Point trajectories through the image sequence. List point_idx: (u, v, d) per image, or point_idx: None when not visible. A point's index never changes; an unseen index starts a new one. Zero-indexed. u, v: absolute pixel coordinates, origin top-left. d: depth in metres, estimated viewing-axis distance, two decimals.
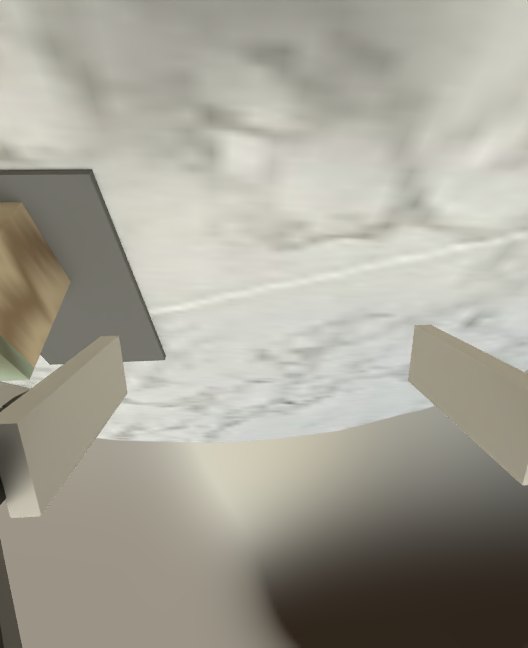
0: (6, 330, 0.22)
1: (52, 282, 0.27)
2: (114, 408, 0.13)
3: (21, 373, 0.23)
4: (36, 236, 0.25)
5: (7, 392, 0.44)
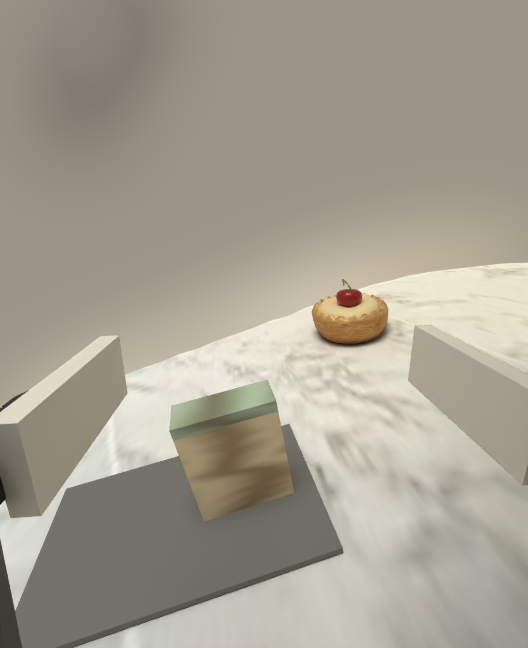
0: (226, 432, 0.25)
1: (221, 497, 0.27)
2: (114, 408, 0.13)
3: (181, 426, 0.24)
4: (265, 496, 0.28)
5: None
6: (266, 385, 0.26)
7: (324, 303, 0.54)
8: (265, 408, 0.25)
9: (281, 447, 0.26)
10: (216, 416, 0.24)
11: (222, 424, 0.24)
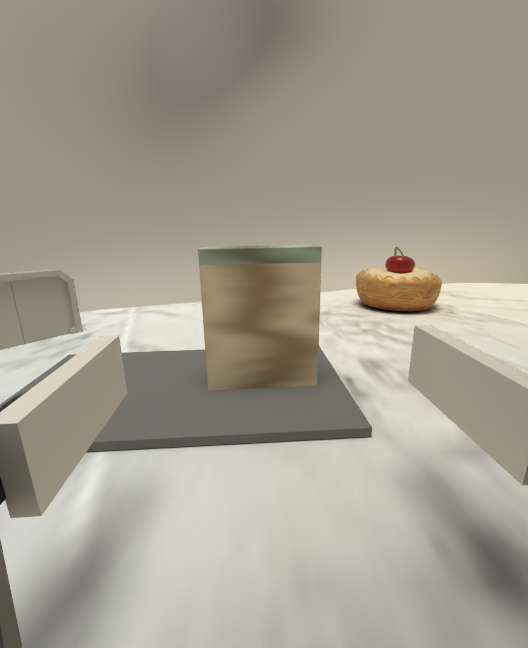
0: (259, 273, 0.22)
1: (234, 362, 0.23)
2: (114, 408, 0.13)
3: (211, 249, 0.21)
4: (283, 379, 0.24)
5: (52, 326, 0.38)
6: (311, 245, 0.23)
7: (371, 269, 0.50)
8: (307, 253, 0.21)
9: (315, 314, 0.23)
10: (252, 248, 0.21)
11: (256, 260, 0.21)
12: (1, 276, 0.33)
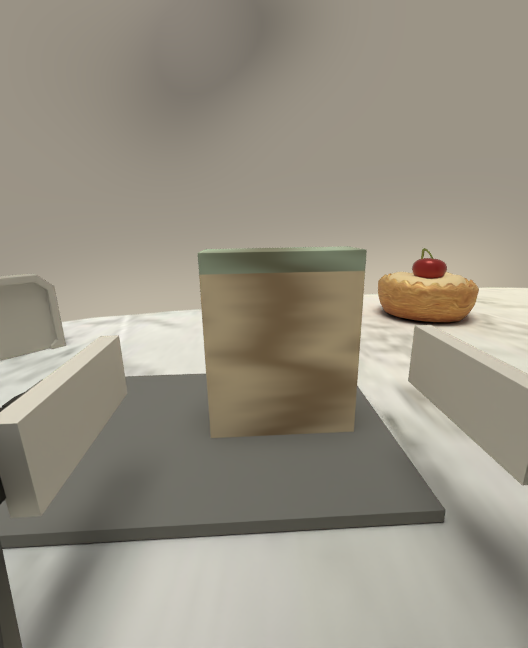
0: (280, 285, 0.16)
1: (245, 402, 0.18)
2: (114, 408, 0.13)
3: (216, 253, 0.15)
4: (310, 423, 0.18)
5: (29, 341, 0.33)
6: (348, 247, 0.18)
7: (395, 273, 0.45)
8: (347, 259, 0.16)
9: (354, 340, 0.17)
10: (271, 251, 0.15)
11: (277, 268, 0.16)
12: None
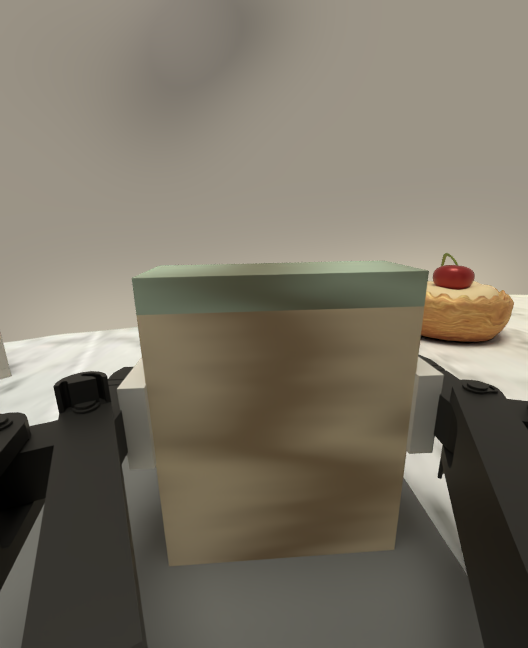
0: (279, 331, 0.09)
1: (223, 513, 0.11)
2: None
3: (166, 277, 0.09)
4: (326, 540, 0.11)
5: None
6: (387, 263, 0.11)
7: None
8: (395, 287, 0.09)
9: (401, 417, 0.10)
10: (263, 274, 0.09)
11: (274, 302, 0.09)
12: None
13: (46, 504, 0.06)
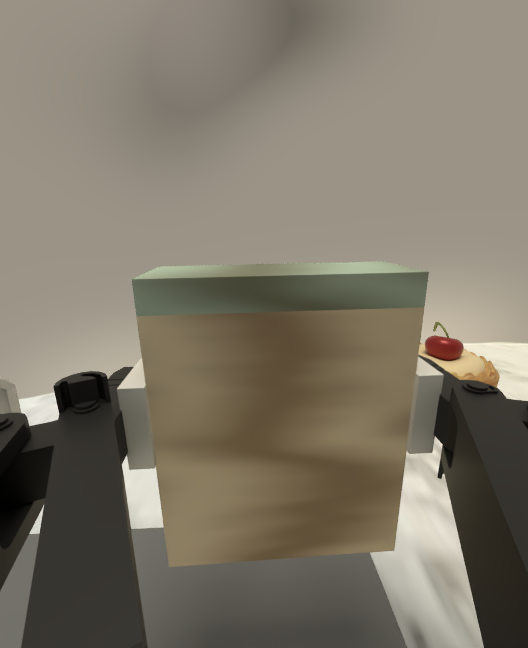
0: (279, 332, 0.09)
1: (223, 514, 0.11)
2: None
3: (166, 278, 0.09)
4: (326, 541, 0.11)
5: None
6: (387, 264, 0.11)
7: None
8: (395, 288, 0.09)
9: (401, 418, 0.10)
10: (263, 275, 0.09)
11: (273, 303, 0.09)
12: None
13: (46, 504, 0.06)
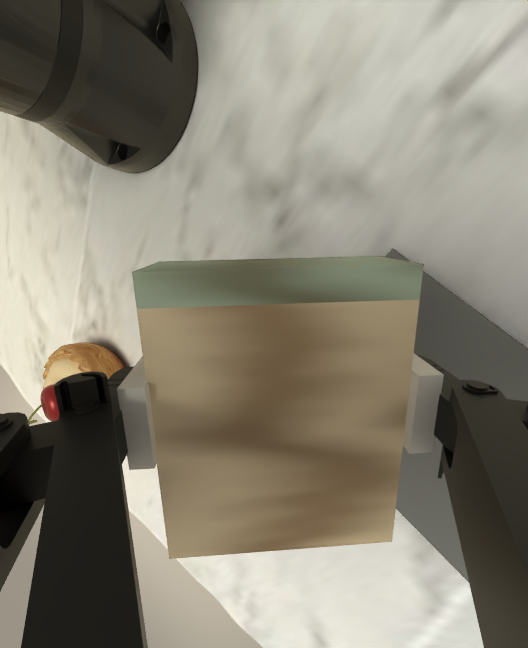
0: (276, 324, 0.09)
1: (222, 505, 0.11)
2: None
3: (166, 271, 0.09)
4: (325, 532, 0.12)
5: None
6: (383, 258, 0.11)
7: None
8: (391, 280, 0.09)
9: (398, 409, 0.10)
10: (261, 268, 0.09)
11: (272, 296, 0.09)
12: None
13: (46, 504, 0.06)
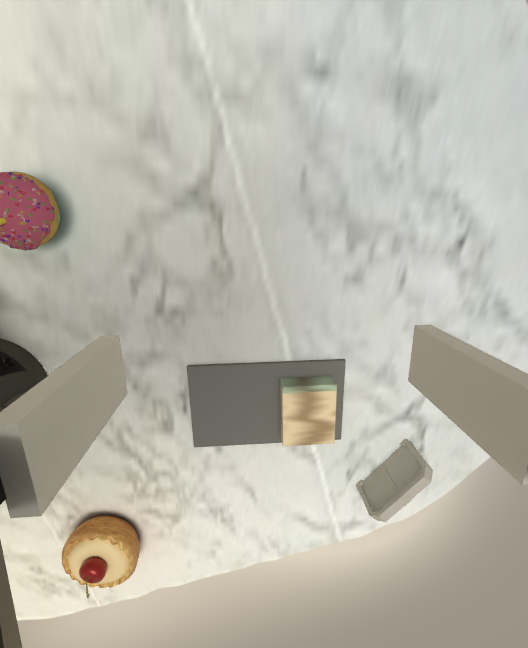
0: (308, 395, 0.48)
1: (295, 433, 0.50)
2: (114, 408, 0.13)
3: (288, 386, 0.47)
4: (318, 440, 0.50)
5: (372, 479, 0.56)
6: (331, 378, 0.50)
7: (119, 572, 0.53)
8: (330, 387, 0.48)
9: (333, 412, 0.49)
10: (306, 385, 0.48)
11: (307, 390, 0.48)
12: (404, 493, 0.49)
13: None
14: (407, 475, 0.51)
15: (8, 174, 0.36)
